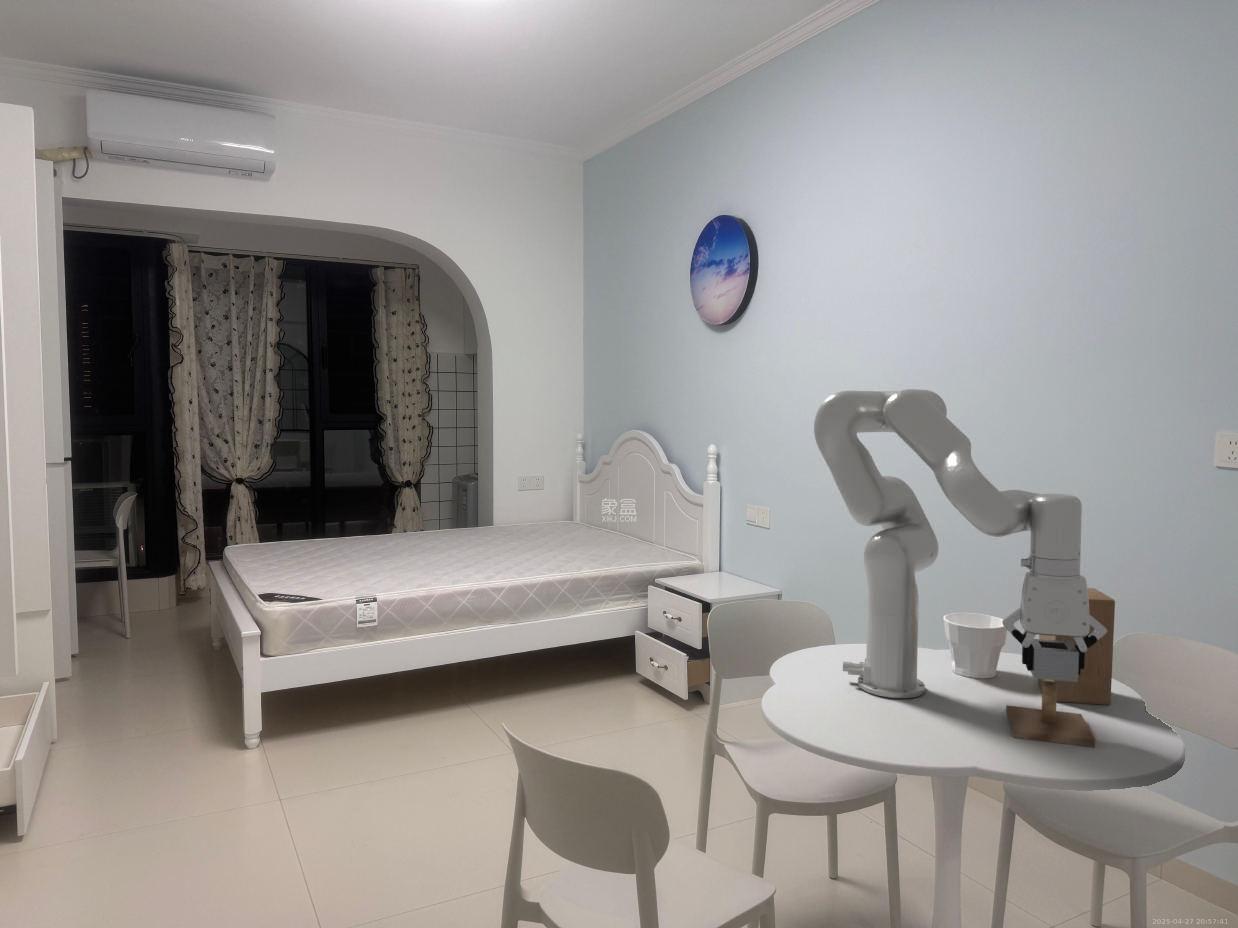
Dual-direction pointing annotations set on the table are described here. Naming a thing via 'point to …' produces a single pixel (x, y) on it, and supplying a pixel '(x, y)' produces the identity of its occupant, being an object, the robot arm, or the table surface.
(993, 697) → the table surface
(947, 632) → the cup
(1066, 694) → the wooden block
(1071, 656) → the collar
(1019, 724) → the post base
